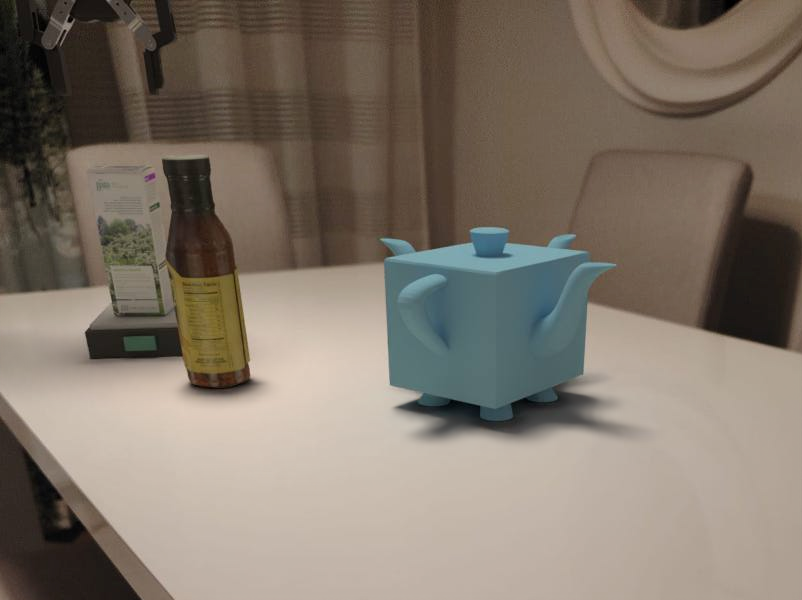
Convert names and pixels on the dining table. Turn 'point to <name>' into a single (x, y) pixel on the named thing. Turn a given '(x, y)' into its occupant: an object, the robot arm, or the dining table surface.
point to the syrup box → (132, 239)
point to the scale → (133, 335)
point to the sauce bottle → (204, 278)
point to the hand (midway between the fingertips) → (110, 95)
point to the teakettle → (487, 319)
